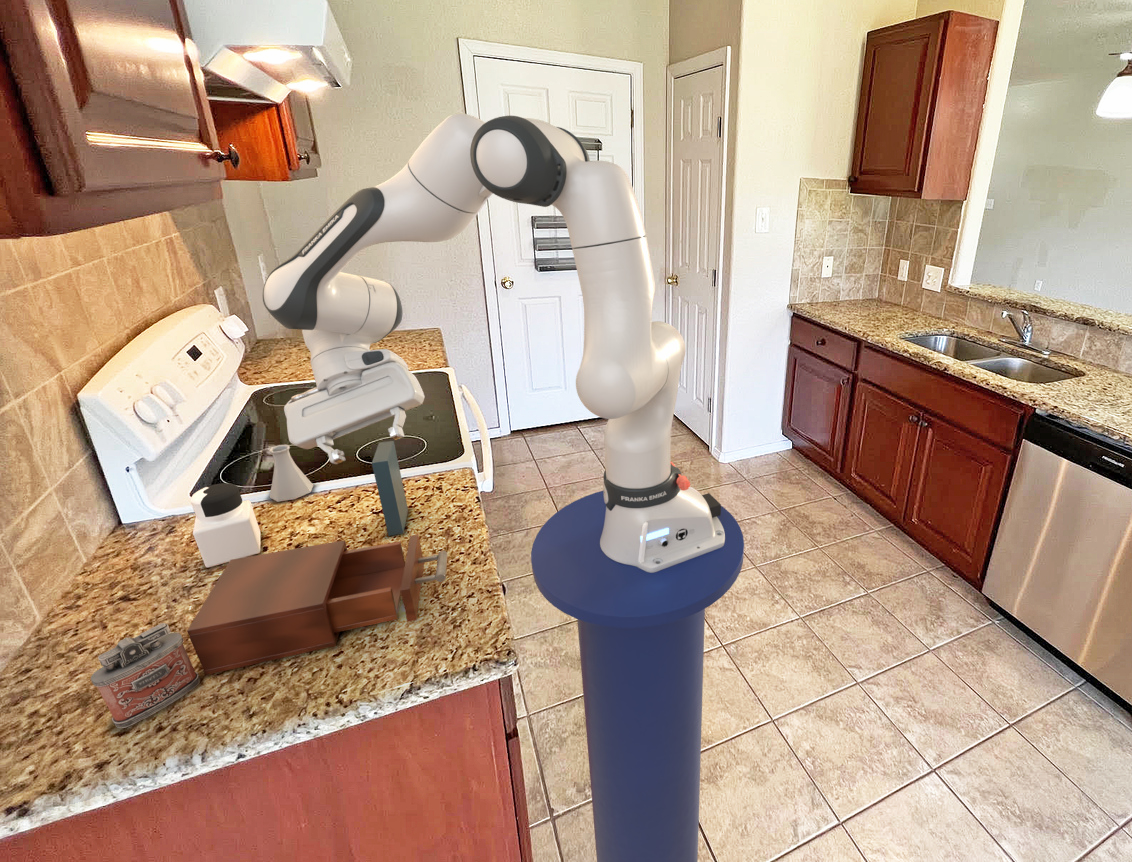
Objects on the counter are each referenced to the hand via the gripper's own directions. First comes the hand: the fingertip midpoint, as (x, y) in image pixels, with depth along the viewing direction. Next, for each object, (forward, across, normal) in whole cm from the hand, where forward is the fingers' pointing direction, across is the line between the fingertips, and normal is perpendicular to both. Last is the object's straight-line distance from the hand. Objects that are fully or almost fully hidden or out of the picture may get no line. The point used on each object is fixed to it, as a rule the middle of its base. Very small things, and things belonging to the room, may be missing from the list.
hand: (368, 449), depth 91 cm
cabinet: (+20, -17, +1) cm, 27 cm away
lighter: (+25, -27, -9) cm, 38 cm away
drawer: (+22, -5, +3) cm, 23 cm away
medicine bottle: (+2, -30, +13) cm, 33 cm away
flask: (-10, -27, +27) cm, 40 cm away
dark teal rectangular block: (+7, -7, +20) cm, 22 cm away
